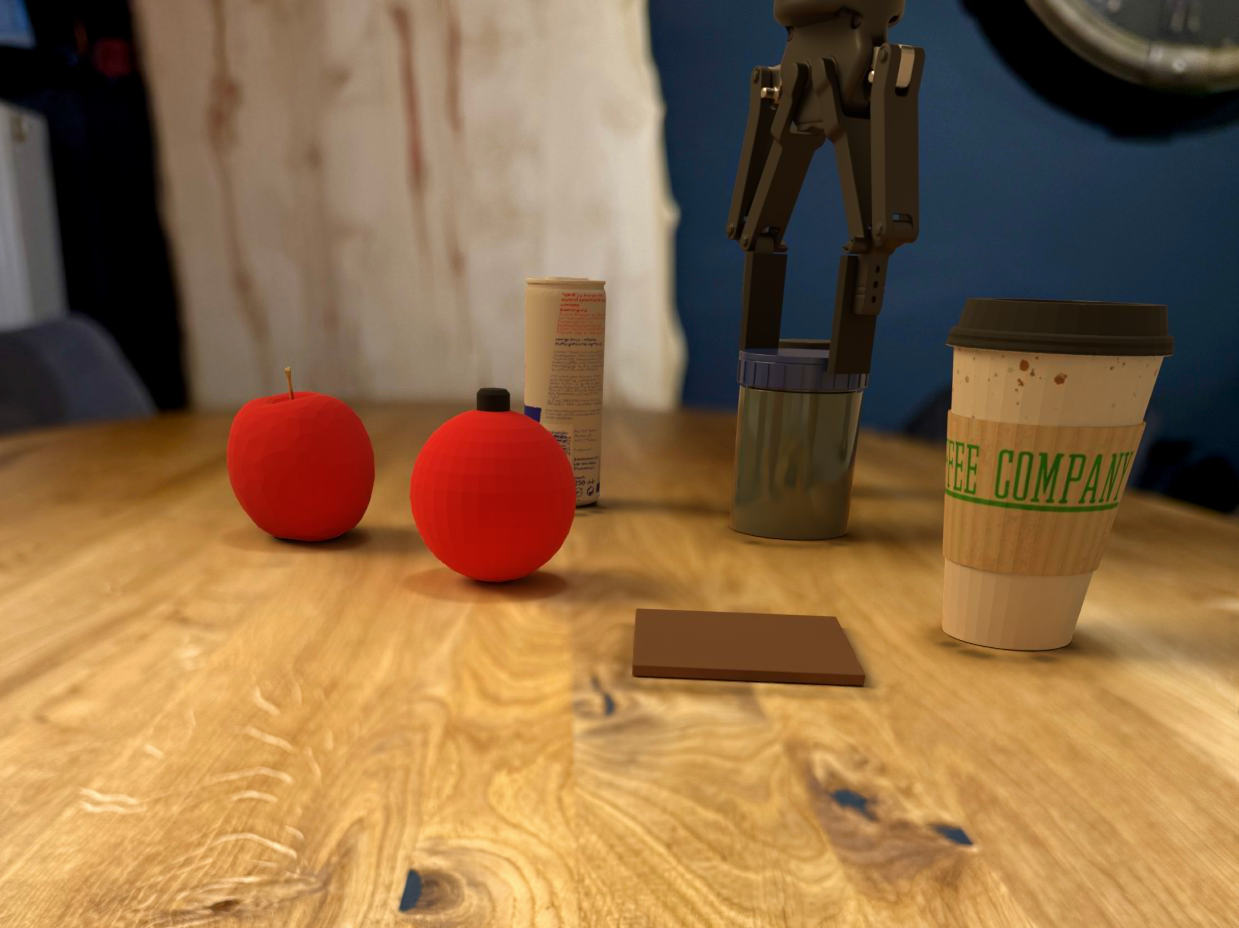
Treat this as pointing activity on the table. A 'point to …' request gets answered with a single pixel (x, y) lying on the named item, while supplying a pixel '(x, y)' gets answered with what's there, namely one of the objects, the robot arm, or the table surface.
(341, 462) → the fruit
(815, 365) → the lid
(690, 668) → the coaster
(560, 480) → the ornament
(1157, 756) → the table surface
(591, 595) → the table surface
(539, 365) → the beverage can
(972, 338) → the coffee cup
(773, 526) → the jar
